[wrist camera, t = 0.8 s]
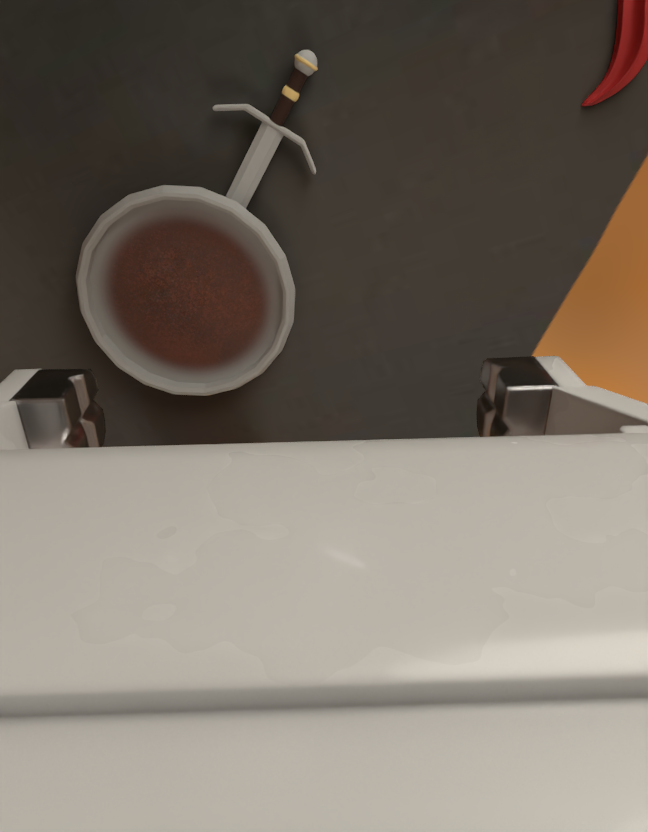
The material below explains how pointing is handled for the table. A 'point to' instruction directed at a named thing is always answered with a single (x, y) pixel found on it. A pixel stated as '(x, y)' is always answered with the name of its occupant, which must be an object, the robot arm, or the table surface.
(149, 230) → the frying pan
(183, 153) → the table surface
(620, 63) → the cayenne pepper
